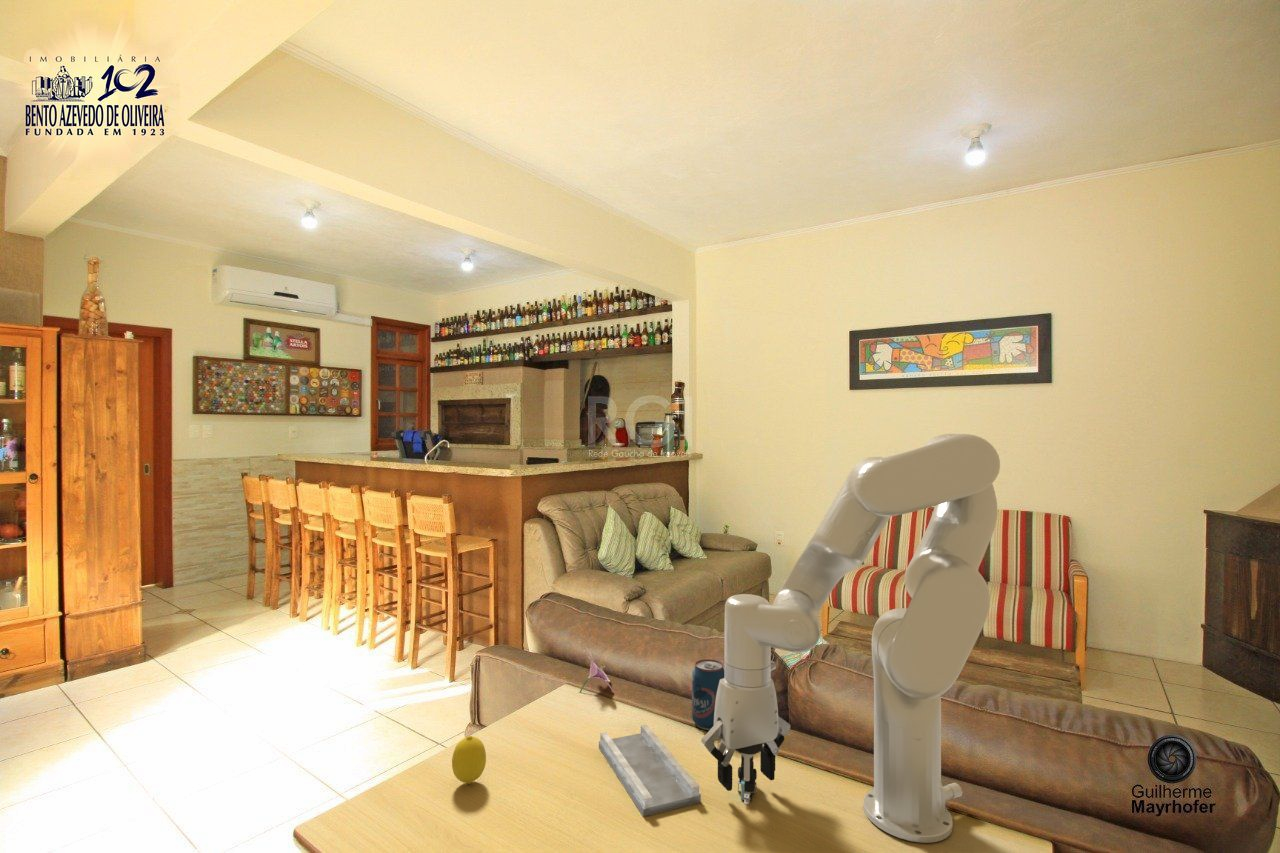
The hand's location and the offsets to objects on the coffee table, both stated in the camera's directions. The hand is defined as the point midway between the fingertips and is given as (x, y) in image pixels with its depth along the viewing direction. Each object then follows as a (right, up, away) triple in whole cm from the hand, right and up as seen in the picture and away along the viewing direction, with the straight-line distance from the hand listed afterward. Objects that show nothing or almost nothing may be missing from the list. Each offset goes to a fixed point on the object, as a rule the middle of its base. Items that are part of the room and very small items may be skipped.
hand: (746, 780), depth 99 cm
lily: (-27, -3, +40) cm, 49 cm away
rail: (-16, -2, +6) cm, 18 cm away
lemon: (-46, -2, +3) cm, 47 cm away
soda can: (-3, -3, +24) cm, 25 cm away
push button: (0, -3, 0) cm, 3 cm away
